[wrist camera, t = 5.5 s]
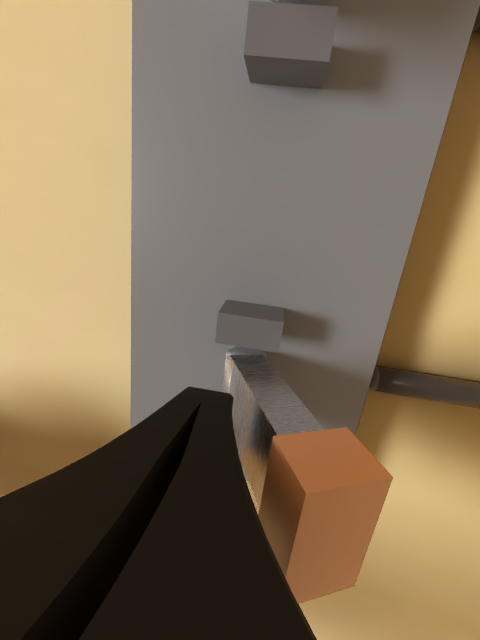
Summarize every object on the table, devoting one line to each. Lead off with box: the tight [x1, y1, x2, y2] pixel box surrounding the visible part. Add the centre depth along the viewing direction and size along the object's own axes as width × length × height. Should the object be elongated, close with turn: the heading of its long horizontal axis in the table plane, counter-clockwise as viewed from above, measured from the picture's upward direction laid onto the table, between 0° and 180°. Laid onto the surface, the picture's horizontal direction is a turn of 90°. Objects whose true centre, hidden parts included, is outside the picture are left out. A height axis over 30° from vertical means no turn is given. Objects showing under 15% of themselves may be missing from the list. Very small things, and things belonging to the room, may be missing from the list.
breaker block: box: [131, 0, 480, 481], centre depth 10 cm, size 16×22×4 cm
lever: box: [222, 346, 393, 603], centre depth 9 cm, size 2×3×6 cm, turn 174°
